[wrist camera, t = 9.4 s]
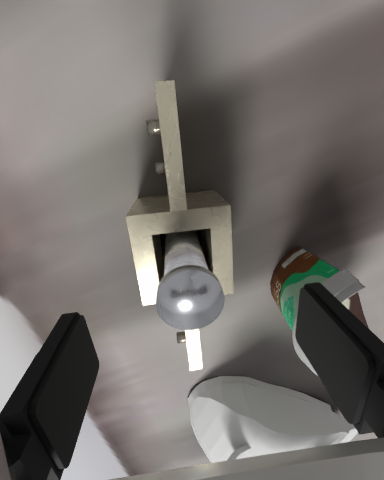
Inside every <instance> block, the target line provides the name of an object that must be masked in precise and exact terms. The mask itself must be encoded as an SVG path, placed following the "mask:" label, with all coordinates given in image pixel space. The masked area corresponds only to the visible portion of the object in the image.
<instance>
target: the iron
mask: <svg viewBox="0 0 384 480" xmlns="http://www.w3.org/2000/svg"><path fill="white" fill-rule="evenodd" d="M187 401H188V403H189V406H190V410H191V425H192V427H193V430H194V433H195V435H196V438H197V440H198V442H199V444H200V446H201V447H202V449H203V450H204V452H205V454H206V455H207V457H208V458H209V460H210V461H211V463H216V462H222V461H228V460H235V459H241V458H247V457H254V456H260V455H266V454H273V453H280V452H286V451H293V450H299V449H306V448H312V447H319V446H326V445H332V444H339V443H346V442H349V441H350V440H351V439H352V438H353V437H354V436H355V435H356V434H357V433H358V431H357V430H356V428H355V427H354V425H353V424H349V423H348V422H347V421H346V419H345V418H344V417H342V416H340V415H338V414H336V413H334V412H332V410H331V406H330V405H329V404H327V403H324V402H322V401H320V400H318V399H315V398H313V397H311V396H309V395H306V394H304V393H301V392H298V391H295V390H292V389H288V388H285V387H281V386H277V385H272V384H268V383H265V382H262V381H259V380H256V379H253V378H250V377H242V376H219V377H215V378H212V379H209V380H206V381H203V382H201V383H200V384H199V385H197V386H196V387H195V388H194V390H193V391H192V392H191V394H190V396H189V398H188V400H187Z"/></svg>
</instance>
